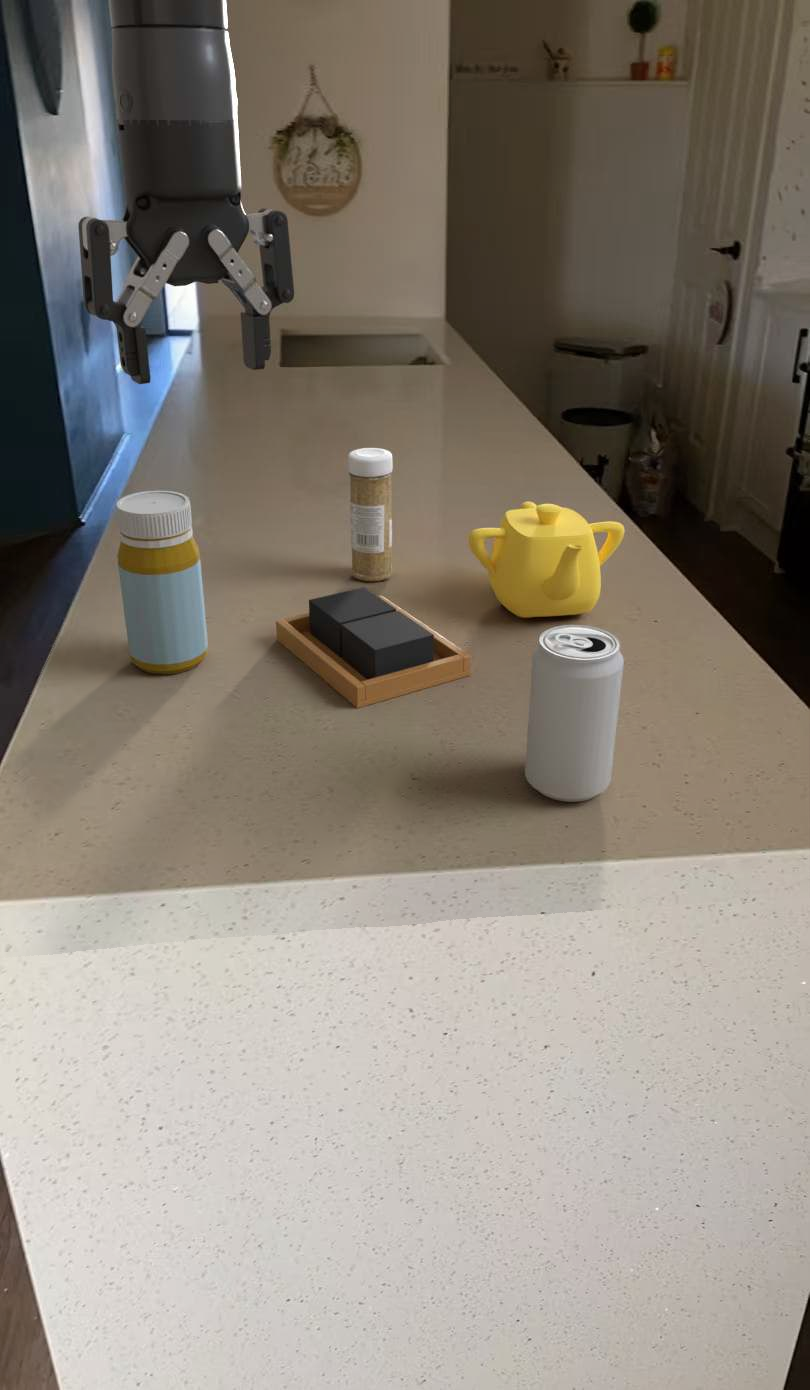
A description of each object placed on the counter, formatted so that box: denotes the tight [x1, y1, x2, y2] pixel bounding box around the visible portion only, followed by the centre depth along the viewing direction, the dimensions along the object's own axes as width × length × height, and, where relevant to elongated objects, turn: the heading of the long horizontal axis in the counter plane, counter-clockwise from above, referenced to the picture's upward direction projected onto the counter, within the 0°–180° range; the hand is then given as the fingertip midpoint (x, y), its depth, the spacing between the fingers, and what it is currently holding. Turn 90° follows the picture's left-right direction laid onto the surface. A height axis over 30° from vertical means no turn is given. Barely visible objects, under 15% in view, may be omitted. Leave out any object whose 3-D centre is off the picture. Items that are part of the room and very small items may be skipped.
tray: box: [275, 595, 472, 709], centre depth 100 cm, size 12×16×2 cm
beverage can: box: [524, 624, 625, 803], centre depth 79 cm, size 6×6×12 cm
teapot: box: [467, 501, 626, 619], centre depth 109 cm, size 14×13×10 cm
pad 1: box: [308, 586, 396, 658], centre depth 102 cm, size 6×6×4 cm
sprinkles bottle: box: [347, 447, 394, 582], centre depth 115 cm, size 5×5×13 cm
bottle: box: [115, 490, 209, 675], centre depth 96 cm, size 7×7×15 cm
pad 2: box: [342, 611, 434, 680], centre depth 97 cm, size 6×6×4 cm
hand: (198, 374), depth 77 cm, fingers open, 8 cm apart
